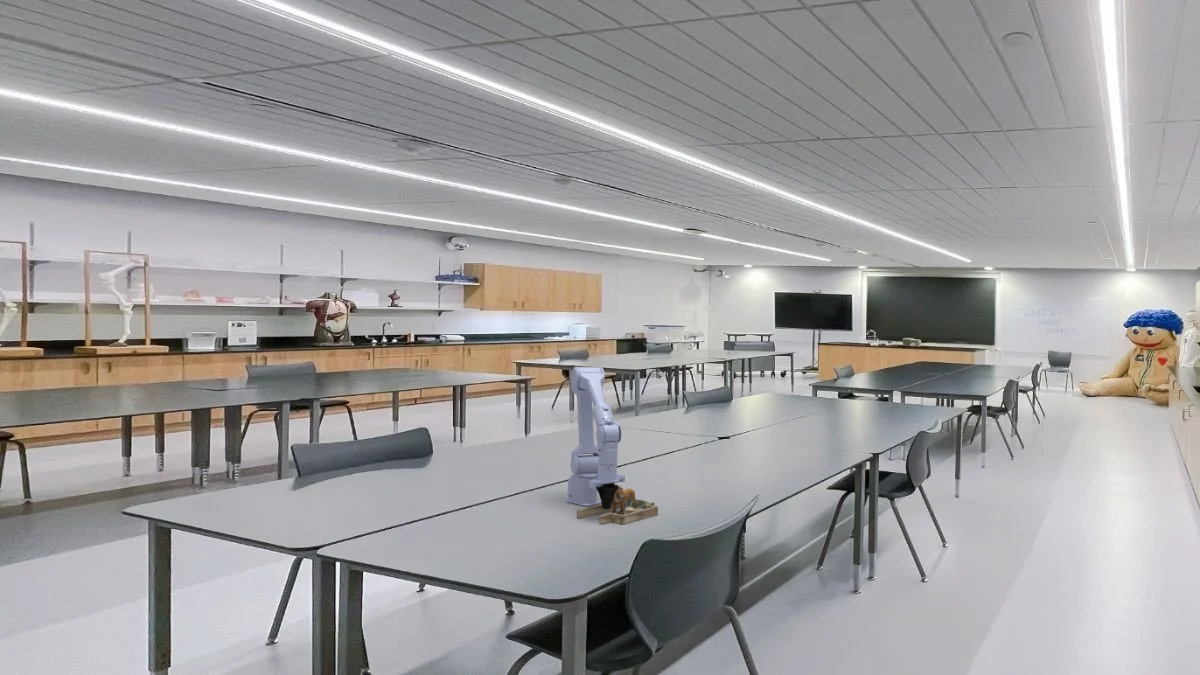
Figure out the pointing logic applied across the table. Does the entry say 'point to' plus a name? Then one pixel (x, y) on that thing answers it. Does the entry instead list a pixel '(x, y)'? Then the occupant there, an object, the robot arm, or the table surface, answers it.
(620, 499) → the lion figurine
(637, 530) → the table surface
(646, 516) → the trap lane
